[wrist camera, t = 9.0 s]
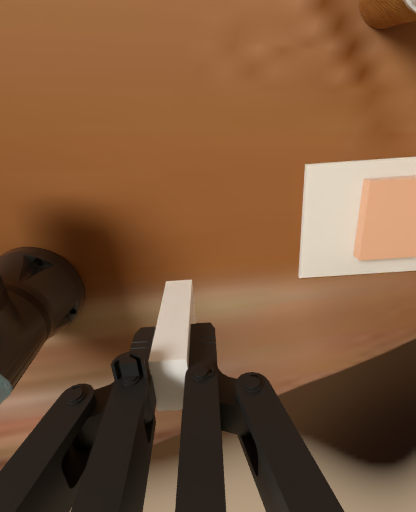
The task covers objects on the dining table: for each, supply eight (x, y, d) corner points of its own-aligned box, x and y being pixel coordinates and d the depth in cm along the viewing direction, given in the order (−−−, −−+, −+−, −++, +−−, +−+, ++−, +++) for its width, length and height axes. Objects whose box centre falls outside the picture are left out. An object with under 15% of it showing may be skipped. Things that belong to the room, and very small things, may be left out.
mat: (298, 276, 51) (299, 278, 51) (305, 164, 44) (306, 164, 43) (431, 267, 51) (434, 269, 50) (460, 153, 44) (464, 153, 43)
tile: (358, 260, 47) (437, 255, 47) (370, 181, 42) (458, 175, 42) (352, 255, 49) (428, 250, 49) (363, 178, 44) (447, 172, 44)
